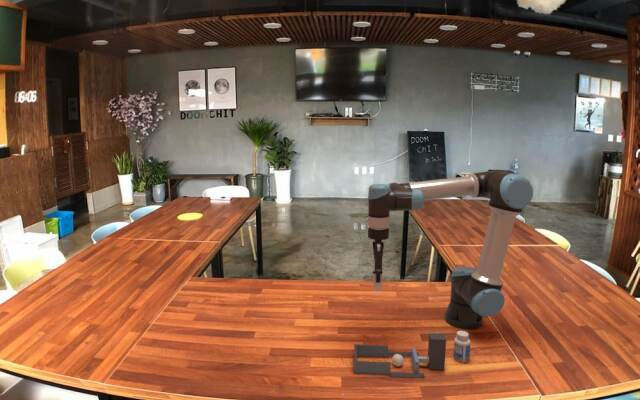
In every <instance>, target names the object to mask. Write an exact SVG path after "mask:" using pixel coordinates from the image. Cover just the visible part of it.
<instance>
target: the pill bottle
mask: <svg viewBox="0 0 640 400" xmlns="http://www.w3.org/2000/svg"><path fill="white" fill-rule="evenodd" d="M469 335H470V334H469V332H467V331H465V330H458V331H456V337H454V342H453V359H454V360H455V361H457V362H459V363H467V362H469V361H470V356H471V354H470V353H471V339H469Z"/></svg>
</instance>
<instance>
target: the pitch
mask: <svg viewBox="0 0 640 400" xmlns="http://www.w3.org/2000/svg"><path fill="white" fill-rule="evenodd" d="M416 352H417V351H416ZM395 354H400V355H401V356H402V357H412V351H391V350H389V346H388V345H387V344H386V345H385V344H358V343H356V344H353V374H362V375H363V374H365V375H381V376H382V375H384V376H385V375H386V376H390V377H391V378H411V379H412V378H413V379H417V378H418V379H425V373H424V372H419V373H415V372H407V371H406V372H405V371H391V363H392V362H388V361H369V360H367V361H366V360H365V361H364V360H358V357H372V358H376V357H379V358H388V357H393V356H394V355H395ZM417 356H420V355H419V352H417Z"/></svg>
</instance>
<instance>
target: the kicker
mask: <svg viewBox="0 0 640 400" xmlns="http://www.w3.org/2000/svg"><path fill="white" fill-rule="evenodd" d="M446 348H447V337H446V336H445V334H444V333H432V332H431V333H428V347H427V356H422V355H419V356H417V350H416V347H411V352H412V357H411V362H412V366H413V370H414V373H420V372H419V371H420V370H419V368H420V364H427V365H428V369H429V370H439V371H441V370H443V371H444V370H445V366H446V351H447V349H446Z"/></svg>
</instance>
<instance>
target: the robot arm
mask: <svg viewBox="0 0 640 400" xmlns="http://www.w3.org/2000/svg"><path fill="white" fill-rule="evenodd" d="M467 196H469V197H471V198H473V199H475V198H485V199H488V200H489V203H488V205H487V206H488V207H489V209H490V211H491V212H490V216H489V221H488V224H487V227H486V232H485V236H484V241H483V244H482V247H481V252H480V256H479V260H478V264H477V267H474V266H457V267H455V268H453V269H452V272H451V276H450V277H451V279H450V281H451V282H450V283H451V284H450V299H449V300H450V301H449V303H448V305H447V307H446V310H445V312H444V320H445V322H446V323H448V324H449V325H451V326H453V327H456V328H459V329H465V330H473V329H478V328H481V327H482V326H483V323H484V322H483V321H484V319H483V318H484V317H492V316H495V315H496V314H499V313H500V312H501V311H502V309H503V308H504V305H505V301H506V299H505V298H506V297H505V296H504V294H503V292H502V290H503V289H502V288H503V284H504V281H503V280H502V279H501V277H502V273H503V268H504V264H505V260H506V255H507V251H508V248H509V246H510V245H509V244H510V240H511V237H512V233H513V228H514V225H515V221H516V218H517V216H519V215H521V214H522V212H523V208H525V207H527V205H529V204H530V203H531V201H532V199H533V196H534V188H533V185H532V184H531V182H530V180H529V179H527V177H524V176H522V175H520V174H518V173H513V172H512V173H511V172H508V171H505V170H504V171H503V170H497V169H496V170H489V171H481V172H476V173H475V172H473V173H472V172H471V173H470V174H469V175H468V176H462V177H461V176H458V177H450V178H441V179H429V180H421V181H411V182H402V183H398V182H389V183H387V184H385V183H373V184H371V185H369V187H368V196H367V197H368V201H367V202H368V208H367V209H368V212H367V213H368V214H367V215H368V217H366V221H367V224H368V225H367V226H368V228H367V237H368V239H370V240H373V241H372V251H373V271H372V274H373V291H374V292H375V291H376V292H382V288H383V256H384V248H385V244H384V243H385V242H384V241H387V240H388V239H389V238H390V228H389V227H390V212H397V211H398V212H399V211H417V210H418V211H420V210H421V209H422V208H423V206H424V203H425V202H424V201H430V200H439V199H449V198H451V199H452V198H457V197H458V198H459V197H467Z"/></svg>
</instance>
